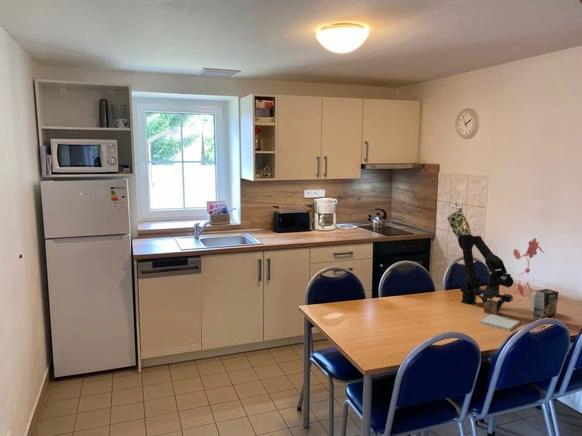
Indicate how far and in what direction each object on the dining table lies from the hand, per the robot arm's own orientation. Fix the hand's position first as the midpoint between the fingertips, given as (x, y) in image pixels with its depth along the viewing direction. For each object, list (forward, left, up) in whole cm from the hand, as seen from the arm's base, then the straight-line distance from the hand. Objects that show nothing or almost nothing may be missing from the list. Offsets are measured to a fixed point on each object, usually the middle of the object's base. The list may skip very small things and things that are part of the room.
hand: (491, 310), depth 241 cm
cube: (0, 0, -1) cm, 1 cm away
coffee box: (+24, +6, -2) cm, 25 cm away
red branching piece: (+4, +49, -2) cm, 49 cm away
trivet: (+9, -13, -1) cm, 16 cm away
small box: (+18, +18, -2) cm, 26 cm away
